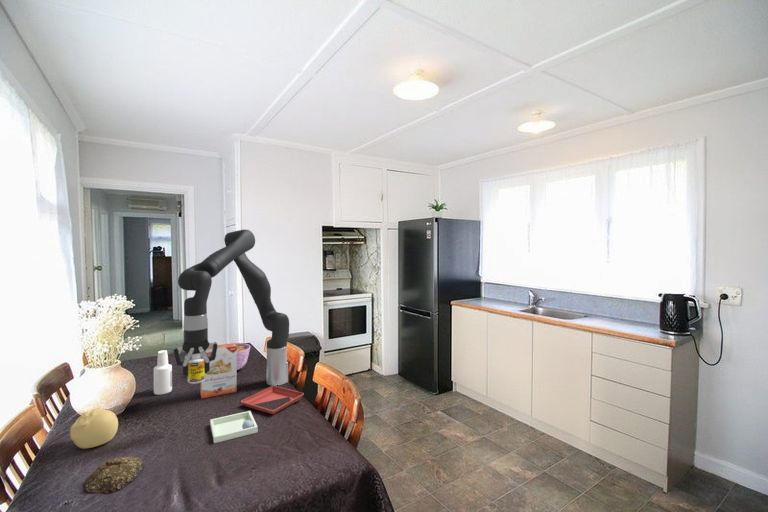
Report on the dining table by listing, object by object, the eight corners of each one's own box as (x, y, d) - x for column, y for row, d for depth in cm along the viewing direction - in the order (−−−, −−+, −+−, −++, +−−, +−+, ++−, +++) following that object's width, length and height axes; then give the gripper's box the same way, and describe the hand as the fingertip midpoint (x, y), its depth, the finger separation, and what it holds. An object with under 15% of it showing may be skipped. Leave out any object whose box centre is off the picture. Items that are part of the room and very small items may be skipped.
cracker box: (201, 399, 147) (201, 350, 147) (200, 394, 152) (200, 346, 152) (237, 392, 155) (237, 345, 154) (234, 387, 160) (234, 342, 159)
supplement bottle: (188, 385, 120) (187, 356, 120) (186, 380, 125) (186, 351, 125) (206, 382, 124) (205, 353, 123) (204, 376, 128) (204, 349, 128)
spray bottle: (175, 388, 158) (175, 349, 157) (164, 395, 151) (164, 353, 150) (161, 388, 158) (161, 348, 158) (149, 394, 152) (149, 353, 151)
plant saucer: (239, 408, 140) (239, 400, 140) (273, 392, 156) (273, 384, 156) (273, 419, 132) (273, 410, 132) (304, 401, 148) (304, 393, 148)
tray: (250, 417, 132) (250, 410, 132) (257, 433, 121) (257, 426, 121) (210, 426, 125) (210, 419, 125) (214, 445, 114) (214, 437, 114)
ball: (251, 427, 124) (251, 417, 124) (253, 431, 121) (253, 421, 121) (241, 429, 122) (241, 419, 122) (243, 434, 119) (243, 424, 119)
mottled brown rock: (151, 464, 104) (151, 448, 104) (121, 494, 92) (121, 475, 91) (106, 465, 103) (106, 448, 103) (70, 495, 91) (70, 476, 91)
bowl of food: (198, 374, 175) (198, 351, 175) (227, 362, 194) (227, 341, 194) (232, 379, 169) (232, 355, 169) (258, 366, 188) (258, 344, 188)
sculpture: (80, 437, 118) (79, 405, 117) (123, 431, 122) (122, 400, 122) (63, 456, 107) (62, 421, 107) (110, 448, 111) (110, 415, 111)
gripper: (217, 322, 130) (217, 367, 131) (172, 327, 123) (172, 374, 124) (219, 326, 124) (219, 374, 125) (171, 331, 117) (172, 381, 117)
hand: (196, 374), depth 124 cm, fingers closed on supplement bottle, 5 cm apart
